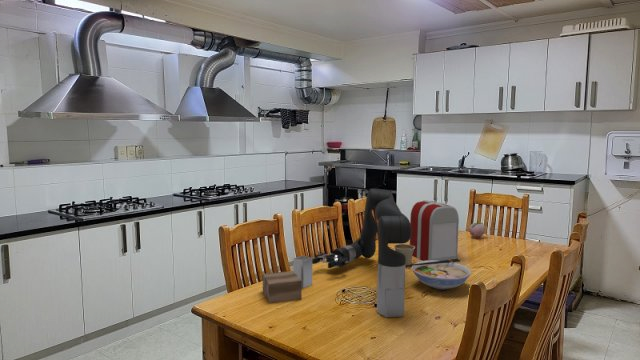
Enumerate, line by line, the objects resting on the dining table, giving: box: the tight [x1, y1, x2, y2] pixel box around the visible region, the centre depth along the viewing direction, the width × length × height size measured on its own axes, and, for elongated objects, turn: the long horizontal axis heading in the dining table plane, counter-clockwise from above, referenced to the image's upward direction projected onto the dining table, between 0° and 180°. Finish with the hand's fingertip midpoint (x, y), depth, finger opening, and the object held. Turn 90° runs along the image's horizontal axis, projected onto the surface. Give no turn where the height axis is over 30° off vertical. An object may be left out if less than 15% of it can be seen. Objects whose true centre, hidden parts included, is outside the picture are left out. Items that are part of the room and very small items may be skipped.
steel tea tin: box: [292, 255, 313, 289], centre depth 176 cm, size 5×5×11 cm
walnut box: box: [262, 270, 303, 304], centre depth 165 cm, size 12×12×7 cm
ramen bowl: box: [405, 258, 472, 291], centre depth 175 cm, size 25×23×8 cm
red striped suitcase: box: [409, 199, 460, 261], centre depth 214 cm, size 16×18×27 cm
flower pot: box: [393, 243, 415, 267], centre depth 202 cm, size 9×9×9 cm
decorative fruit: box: [468, 220, 486, 239], centre depth 253 cm, size 9×8×10 cm
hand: (320, 263), depth 184 cm, fingers open, 8 cm apart
